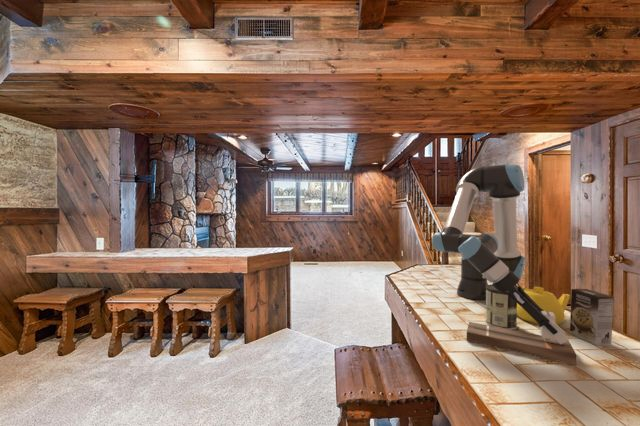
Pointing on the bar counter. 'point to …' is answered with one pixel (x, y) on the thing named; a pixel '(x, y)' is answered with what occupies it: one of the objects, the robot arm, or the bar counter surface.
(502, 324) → the coffee can
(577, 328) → the cookie box
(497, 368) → the bar counter surface
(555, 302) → the teapot
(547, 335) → the fader
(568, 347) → the brown slab
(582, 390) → the bar counter surface
